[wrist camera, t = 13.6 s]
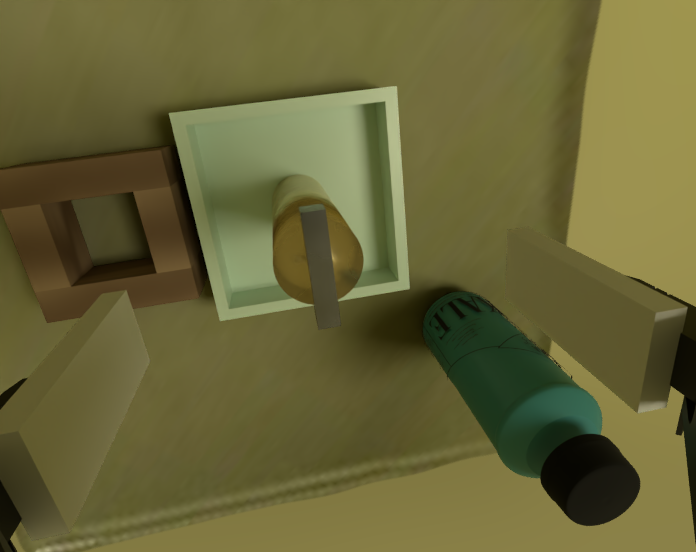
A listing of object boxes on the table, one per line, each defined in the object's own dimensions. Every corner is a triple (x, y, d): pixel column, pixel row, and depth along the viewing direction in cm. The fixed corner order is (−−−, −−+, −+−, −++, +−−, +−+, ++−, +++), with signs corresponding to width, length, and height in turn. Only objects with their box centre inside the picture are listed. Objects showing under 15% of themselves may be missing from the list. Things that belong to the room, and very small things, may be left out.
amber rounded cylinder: (265, 169, 31) (262, 218, 17) (321, 162, 32) (362, 203, 18) (278, 240, 33) (283, 335, 19) (330, 232, 33) (374, 319, 19)
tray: (181, 112, 30) (168, 113, 26) (382, 88, 31) (396, 86, 28) (225, 298, 35) (220, 321, 31) (395, 270, 37) (409, 288, 33)
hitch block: (21, 164, 29) (-15, 172, 26) (173, 144, 31) (160, 149, 27) (72, 299, 33) (47, 322, 29) (207, 277, 34) (199, 298, 31)
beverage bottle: (458, 357, 41) (612, 565, 22) (399, 330, 39) (514, 533, 20) (498, 299, 39) (700, 469, 21) (439, 268, 37) (604, 426, 19)
